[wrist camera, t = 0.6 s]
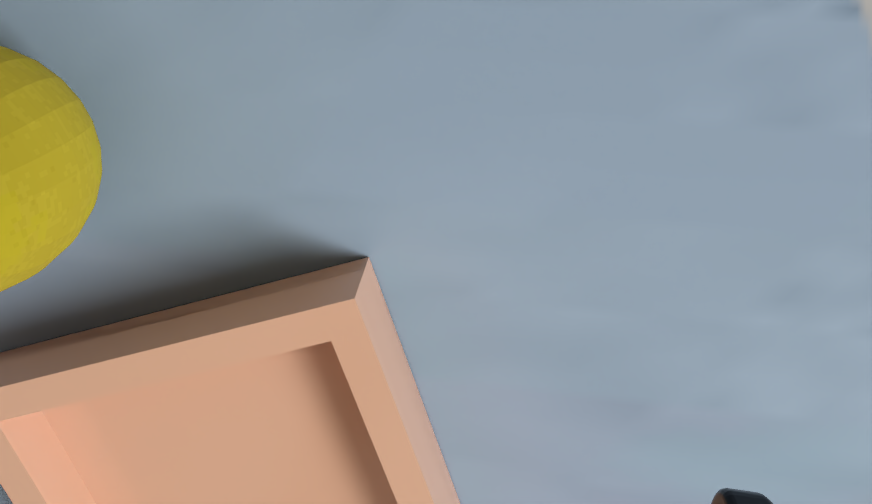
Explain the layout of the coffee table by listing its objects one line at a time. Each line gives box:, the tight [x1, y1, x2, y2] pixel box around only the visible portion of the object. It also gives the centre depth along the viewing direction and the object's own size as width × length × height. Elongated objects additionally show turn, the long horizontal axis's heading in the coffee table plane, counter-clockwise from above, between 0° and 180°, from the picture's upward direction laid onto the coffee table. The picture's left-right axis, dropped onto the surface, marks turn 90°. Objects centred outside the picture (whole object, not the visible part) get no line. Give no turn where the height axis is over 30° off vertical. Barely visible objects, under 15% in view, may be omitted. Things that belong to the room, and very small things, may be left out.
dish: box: [0, 257, 460, 504], centre depth 25 cm, size 12×12×2 cm
